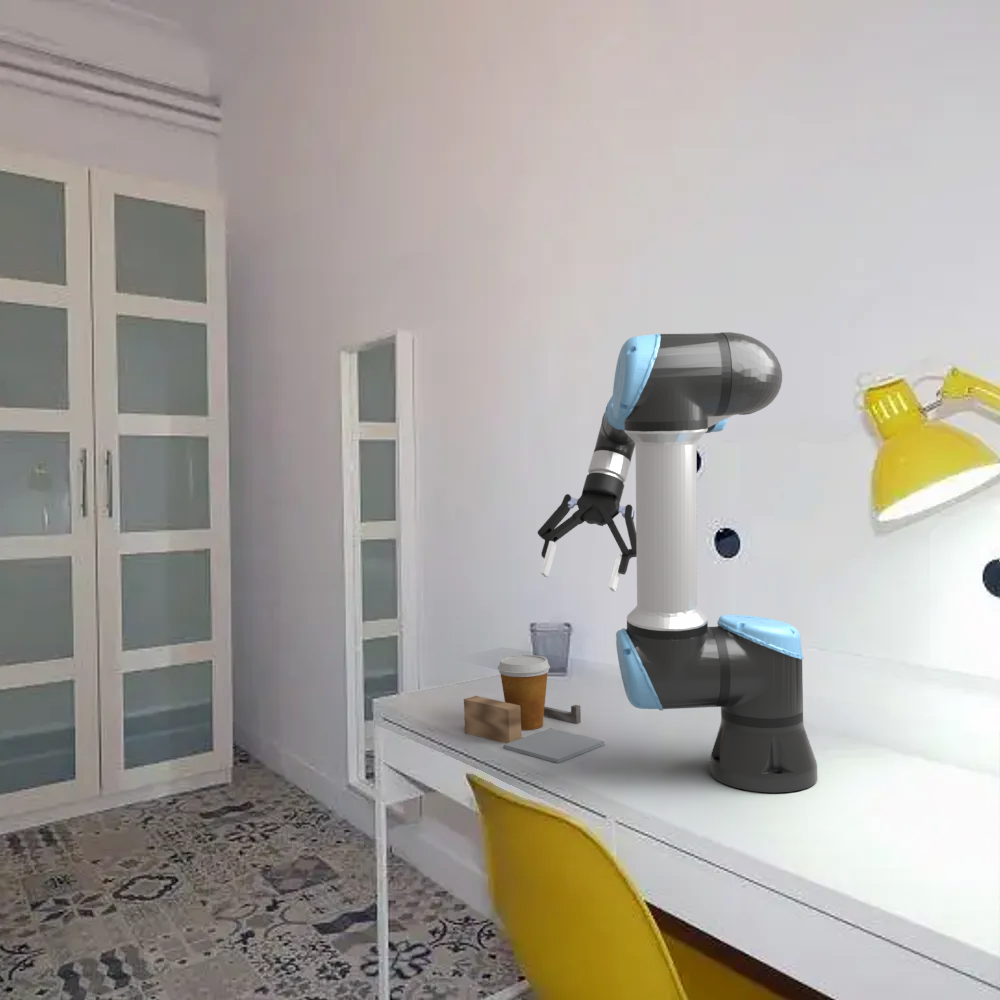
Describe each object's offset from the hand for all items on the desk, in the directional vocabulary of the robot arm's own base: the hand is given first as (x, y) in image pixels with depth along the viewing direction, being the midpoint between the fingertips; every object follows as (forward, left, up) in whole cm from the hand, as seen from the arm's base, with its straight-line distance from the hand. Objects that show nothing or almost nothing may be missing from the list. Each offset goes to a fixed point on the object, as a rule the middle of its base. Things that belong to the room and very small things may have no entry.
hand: (577, 582), depth 162 cm
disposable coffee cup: (+4, +11, -25) cm, 28 cm away
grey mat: (-8, +17, -25) cm, 32 cm away
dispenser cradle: (+4, +13, -25) cm, 28 cm away
